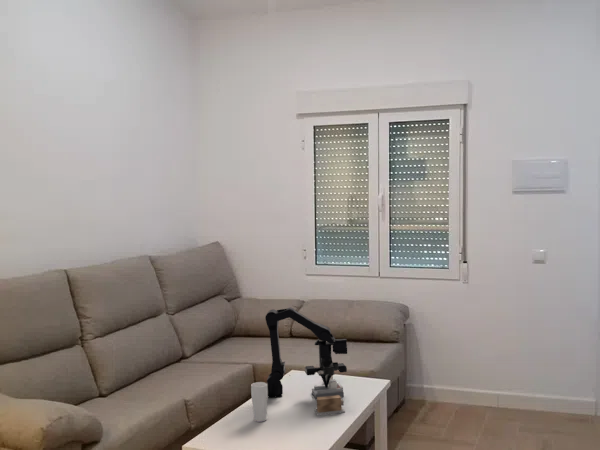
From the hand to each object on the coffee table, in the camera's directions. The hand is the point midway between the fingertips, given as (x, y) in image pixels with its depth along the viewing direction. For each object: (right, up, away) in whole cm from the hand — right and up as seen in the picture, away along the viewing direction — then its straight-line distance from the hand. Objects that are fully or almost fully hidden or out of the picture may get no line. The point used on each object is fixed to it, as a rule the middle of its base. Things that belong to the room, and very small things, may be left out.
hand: (326, 387), depth 281 cm
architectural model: (+2, -3, +17) cm, 17 cm away
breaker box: (+1, -4, 0) cm, 4 cm away
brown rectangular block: (0, -4, -21) cm, 21 cm away
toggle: (+3, -1, +1) cm, 3 cm away
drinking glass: (-29, -6, -28) cm, 41 cm away
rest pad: (+1, -5, -21) cm, 21 cm away
